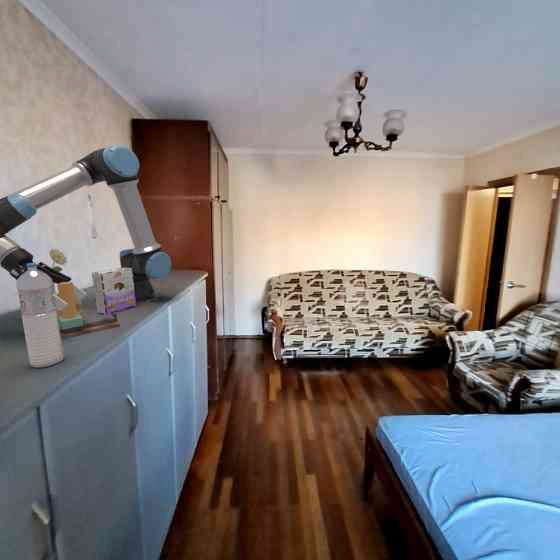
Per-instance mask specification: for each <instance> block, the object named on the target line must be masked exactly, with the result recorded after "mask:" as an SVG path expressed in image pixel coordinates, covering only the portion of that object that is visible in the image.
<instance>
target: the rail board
mask: <svg viewBox="0 0 560 560" xmlns="http://www.w3.org/2000/svg"><path fill="white" fill-rule="evenodd" d="M111 314H112V316H111V317H106V318H105V317H104V318H100V319H94V320H90V321H89V320H88V321H84V322H83V326H78V327H73V328H68V329H63V330H62V328H61V326H60V327H59V328H60V334H61V340H63V339H67V338H71V337H72V338H73V337H76V336H81V335H84V334H89V333H90V334H91V333H95V331H96V332H100V331H104V330H109V329H114V328H115V329H116V328H120V327H121V326H120V323H119V322H118V321H119V320H118V314H117V312H113V313H111Z"/></svg>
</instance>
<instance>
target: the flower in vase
mask: <svg viewBox="0 0 560 560" xmlns="http://www.w3.org/2000/svg"><path fill="white" fill-rule="evenodd" d="M48 254H49V256H50V259H51V260H52V261H53V263H52V267H51V268H53V269H55V270H57V271H58V272H60V273H61V272H62V271H63V268H62V267H61V266H57V265H56V266H55V264H59V265H62V266H64V265H65V264H67V263H68V260H67V259H68V257H66V255H65V254H64V252H62V251H61V252H60V250H59V249H58V248H53V247H52V248H51V249H50V250H49V253H48ZM52 286H53V292H54V294H58V293H57V292H56V289H55V283H54V282H53V285H52Z"/></svg>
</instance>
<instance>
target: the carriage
mask: <svg viewBox="0 0 560 560" xmlns="http://www.w3.org/2000/svg"><path fill="white" fill-rule="evenodd" d="M73 284H74V281H70V282H62V283H59V284H57V291H58V293H59V298H60V299H62V300H63V301H64V302H66V303H67V304H68V305H67V306H66V307H65V308H64V309H63V310H62V311H61V313H62V316H59V317H58V318H59V324H60V327H61V328H62V330H63V329H68V328H73V327H78V326H83V320H82V317H81V316H80V315H79V314H78V313H77V309H76V302H75V295H74V288H73ZM58 293H57V294H58Z"/></svg>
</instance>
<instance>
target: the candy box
mask: <svg viewBox="0 0 560 560" xmlns="http://www.w3.org/2000/svg"><path fill="white" fill-rule="evenodd" d="M91 275H92V276H91V277H92V283H93V284H92V285H93V291H94V299H95V300H94V301H95V307H96V314H100V315H104V316H108V315H111V314H112V313H113V312H115V313H117V312H121V311H124V310H127V309H130V308H135V307H137V301H136V297H135V288H134V280H133V271H132V268H121V267H119V268H114V269H108V270H107V269H106V270H101V271H95V272H92V273H91Z"/></svg>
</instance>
